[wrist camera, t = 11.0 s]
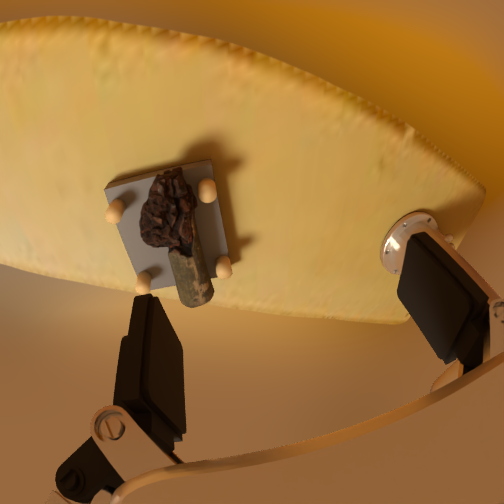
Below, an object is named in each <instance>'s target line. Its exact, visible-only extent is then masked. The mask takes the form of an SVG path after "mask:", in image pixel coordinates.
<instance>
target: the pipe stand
mask: <svg viewBox="0 0 504 504" xmlns="http://www.w3.org/2000/svg"><path fill="white" fill-rule="evenodd" d="M177 167H182V168H183V174H182V175H183V177H184V180H185V181H186V183H187V184H190V185H191V187H192V189H193V194H194V195H195V196H196V199H197V203H198V206H197V208H195V220H196V225H197V230H198V234H199V238H200V242H201V246H202V250H203V254H204V259H205V262H206V266H207V269H208V272H209V276H210V279H211V278H216V277H219V278H220V279H227V278H229V277H230V276H231V275H232V269H231V264H230V259H229V254H228V249H227V244H226V239H225V233H224V228H223V223H222V218H221V213H220V207H219V202H218V197H217V191H216V186H215V180H214V175H213V169H212V164H211V159H209V160H204V161H199V162H194V163H189V164H184V165H180V166H175V167H171V168H166V169H162V170H158V171H154V172H150V173H146V174H142V175H138V176H134V177H130V178H126V179H123V180H119V181H115V182H112V183H108V184H107V186H106V188H105V189H104V191H105V194H106V197H107V200H108V203H109V207H108V209H107V211H106V213H105V218H106V220H107V221H108V222H109V223H111V224H116V225H117V228H118V230H119V233H120V235H121V238H122V241H123V243H124V246H125V248H126V251H127V253H128V256H129V258H130V260H131V263H132V265H133V267H134V270H135V272H136V274H137V282H136V291H137V292H138V293H139V294H148V293H149V292H150V290H154V289H159V288H164V287H170V286H175V285H176V282H175V278H174V275H173V272H172V268H171V265H170V261H169V257H168V251H169V248H168V247H159V248H153V247H151V246H150V245H147V244H146V243H145V242H144V241H143V240H142V238H141V236H140V227H139V220H140V217H141V214H140V212H141V209H142V206H143V204H144V203H145V202H146V201H147V199H148V193H149V189H150V187H151V185H152V183H153V181H154V179H155V177H156V175H157V174H160V175H162V174H164V173H163V172H164V171H166V170H170V171H172V169H173V168H177Z"/></svg>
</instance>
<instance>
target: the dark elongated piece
mask: <svg viewBox="0 0 504 504" xmlns="http://www.w3.org/2000/svg"><path fill="white" fill-rule="evenodd" d="M163 173H164V174H162V175H160V174H157V175H156V177H155V179H154V181H153V183H152V185H151V187H150V189H149V193H148V199H147V201H146V202H145V203H144V204H143V206H142V209H141V212H140V214H141V217H140V220H139V227H140V236H141V238H142V240H143V241H144V242H145V243H146V244H147V245H150V246H151V247H153V248H159V247H168V248H169V251H168V257H169V261H170V265H171V268H172V272H173V275H174V278H175V282H176V286H177V290H178V294H179V298H180V301H181V302H182V304H184V305H185V306H187V307H190V308H194V307H198V306H201V305H203V304H205V303H207V302H209V301H210V300H211V299H212V297H213V294H214V288H213V285H212V282H211V279H210V276H209V272H208V269H207V266H206V262H205V259H204V254H203V250H202V246H201V242H200V238H199V234H198V230H197V225H196V220H195V208H197V206H198V203H197V199H196V196H195V195H194V194H193V189H192V187H191V185H190V184H187V183H186V181H185V180H184V177H183V175H182V174H183V168H182V167H177V168H173V169H172V171H170V170H166V171H164V172H163Z"/></svg>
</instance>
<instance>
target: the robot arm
mask: <svg viewBox="0 0 504 504" xmlns="http://www.w3.org/2000/svg"><path fill="white" fill-rule="evenodd" d="M452 240H453V236H452V234H447V235H445V236H444V235H443V234H441V233H440V232H439V231H438V225H437V222H436V221H435V219H434V218H433V217H432V216H431V215H429V214H428V213H425V212H414V213H411V214H409V215H407V216H405V217H403V218H402V219H401V220H399V221H398V222H397V223H396V224H395V225H394V226H393V227H392V228H391V230H390V231H389V232H388V234H387V236H386V238H385V239H384V242H383V245H382V249H381V261H382V264H383V266H384V267H385V268H386V269H387V271H389V272H390V273H392V274H398V275H399V274H401V275H400V280H399V284H398V288H397V295H398V298H399V299H400V301H401V302H402V304H403V305H404V306H405V308H406V309H407V311H408V312H409V314H410V315H411V317H412V318H413V319H414V321H415V322H416V324H417V325H418V327H419V328H420V330H421V331H422V333H423V334H424V336H425V337H426V339H427V341H428V342H429V344H430V345H431V347H432V348H433V350H434V351H435V353H436V355H437V356H438V358H440V359H443V361H444V363H445V364H448V363H450V362H452V361H454V360H456V358H458V359H457V360H456V361H455V362H454V363H453V364H452V365H451V366H450V367H449V368H448V369H446V371H444V372H443V373H442V374H441V375H440V376H439V377H438V378H437V379H436V380H435V381H434V383H433V385H432V386H431V389H430V393H429V394H427V395H425V396H423V397H421V398H419V399H417V400H415V401H413V402H410V403H408V404H406V405H404V406H402V407H399V408H397V409H394V410H392V411H390V412H387V413H385V414H383V415H380V416H378V417H375V418H373V419H370V420H367V421H365V422H362V423H359V424H356V425H354V426H351V427H348V428H345V429H342V430H339V431H336V432H333V433H329V434H326V435H323V436H319V437H316V438H313V439H309V440H305V441H301V442H297V443H294V444H290V445H285V446H281V447H277V448H273V449H268V450H263V451H258V452H252V453H247V454H242V455H236V456H230V457H224V458H218V459H210V460H203V461H197V462H189V463H184V462H183V461H182V460H181V459H180V458H179V457H178V456H177V455H176V454H175V453H174V452H173V450H174V442H179V441H182V434H185V433H186V416H185V415H186V414H185V396H184V369H183V349H182V345H181V342H180V341H179V339H178V337H177V335H176V333H175V331H174V329H173V327H172V325H171V323H170V321H169V319H168V317H167V315H166V313H165V311H164V309H163V307H162V305H161V303H160V301H159V298H158V297H153V296H152V294H145V295H140V296H136V297H135V298H134V302H133V307H132V314H131V319H130V325H129V331H128V335H127V336H124V337H123V338H122V341H121V346H120V352H119V359H118V366H117V373H116V382H115V390H114V399H113V405H109V406H105V407H103V408H102V409H100V410H98V411H97V412H96V413H95V415H94V416H93V418H92V420H91V424H90V432H91V435H92V436H91V437H90V438H89V439H88V440H87V441H86V442H85V443H84V444H83V445H82V446H81V447H79V448H78V449H77V450H76V451H75V452H74V453H73V454H72V455H71V456H70V457H69V458H68V459H67V460H66V461H65V462H64V463H63V464H61V466H60V467H59V468H58V470H57V472H56V478H55V481H56V486H57V490H56V491H54V490H52V492H51V494H50V496H49V498H48V499H47V501H46V503H45V504H504V299H502V298H501V297H500V296H499V294H498V293H497V292H496V291H495V290H494V289H493V288H492V287H491V286H490V285H489V284H488V283H487V282H486V281H485V280H484V279H483V278H482V277H481V276H480V274H479V273H478V272H477V271H476V270H475V269H474V268H473V267H472V266H471V265H470V264H469V263H468V262H467V261H466V260H465V259H464V258H463V257H462V256H461V255H460V254H459V253H458V252H457V251H456V250H455V246H454V244H453V243H448V242H450V241H452Z"/></svg>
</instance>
